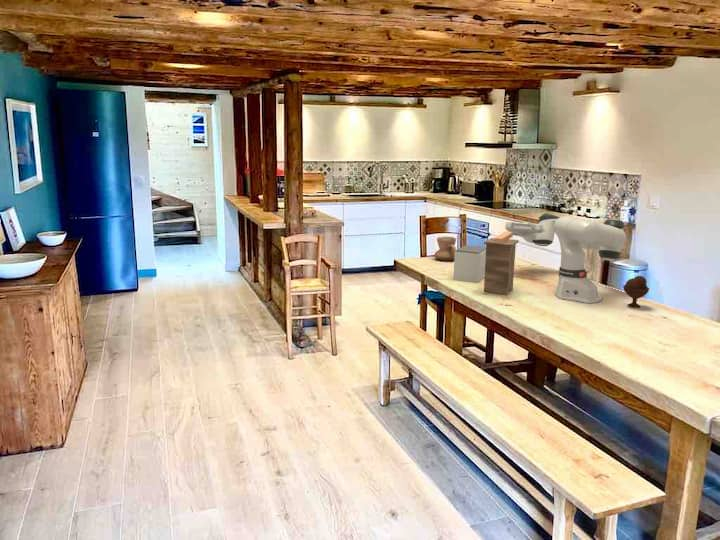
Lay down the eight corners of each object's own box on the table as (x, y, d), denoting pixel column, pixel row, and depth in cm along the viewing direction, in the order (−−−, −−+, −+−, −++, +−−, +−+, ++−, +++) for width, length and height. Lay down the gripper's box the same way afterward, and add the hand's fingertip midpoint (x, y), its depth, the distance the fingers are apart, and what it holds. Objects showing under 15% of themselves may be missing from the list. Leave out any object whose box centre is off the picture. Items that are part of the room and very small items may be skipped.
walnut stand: (488, 286, 317) (491, 237, 311) (515, 289, 311) (518, 240, 305) (481, 292, 305) (484, 242, 299) (508, 295, 299) (512, 244, 293)
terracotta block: (505, 236, 317) (505, 231, 316) (512, 236, 315) (512, 232, 314) (493, 243, 297) (494, 238, 296) (501, 243, 295) (502, 238, 294)
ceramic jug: (429, 258, 387) (430, 236, 383) (448, 256, 392) (449, 234, 388) (443, 264, 371) (444, 241, 367) (463, 262, 376) (464, 240, 372)
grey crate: (463, 273, 346) (464, 245, 343) (487, 275, 340) (488, 247, 336) (453, 279, 331) (454, 250, 327) (478, 282, 324) (479, 252, 321)
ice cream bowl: (641, 303, 287) (645, 273, 284) (650, 310, 276) (653, 278, 273) (618, 302, 288) (621, 272, 285) (626, 309, 277) (629, 278, 274)
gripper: (544, 237, 334) (539, 230, 322) (508, 234, 344) (501, 227, 332) (546, 226, 335) (540, 219, 323) (510, 223, 345) (503, 216, 333)
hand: (520, 223), depth 328 cm, fingers open, 8 cm apart
